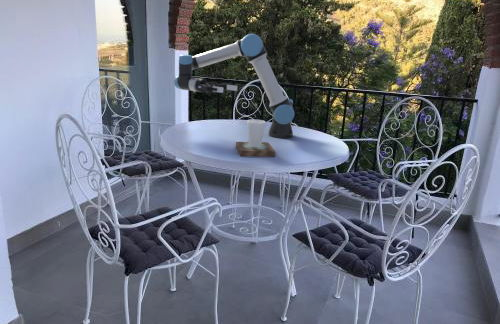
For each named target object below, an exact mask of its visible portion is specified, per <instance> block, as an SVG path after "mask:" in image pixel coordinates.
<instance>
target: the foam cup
mask: <svg viewBox="0 0 500 324" xmlns="http://www.w3.org/2000/svg"><path fill="white" fill-rule="evenodd" d="M246 126H247V140H248V141H247V142H249V146H251V147H261V143H262V142H263V137H264V133H265V128H266V121H265V120H263V119H247V121H246Z"/></svg>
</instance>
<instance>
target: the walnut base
mask: <svg viewBox="0 0 500 324" xmlns="http://www.w3.org/2000/svg"><path fill="white" fill-rule="evenodd" d="M235 149H236V151H237V153H238V156H239V157H248V156H249V158H250V157H253V158H254V157H255V158H256V157H258V158H260V157H261V158H262V157H263V158H264V157H265V158H268V157H269V158H276V150H275V149H274V147H273V146H272V145H271V143H270V142H268V141H267V142H266V141H262V143H261V147H251V146H249V141H235Z"/></svg>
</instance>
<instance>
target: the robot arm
mask: <svg viewBox="0 0 500 324" xmlns="http://www.w3.org/2000/svg"><path fill="white" fill-rule="evenodd" d="M267 55H268V52H267V49H266V47H265V45H264V43H263V41H262V39H261V37H260V36H259V34H258V35H257V34H255V33H248V34H246V35H245V36H243V38H241V39H237V40H236V42H234V43H231V44H227V45H224V46H222V47H218V48H214V49H212V50H208V51H205V52H203V53H199V54H196V55H193V56H192V55H191V54H179V56H178V75H177V76H176V77H175V79H174V81H173V82H174V87H175V88H176V89H179V90H182V91H189V92H190V91H192V92H193V93H196V92H198V93H206V92H209V93H210V94H211V93H221V94H223V93H224V90H227V91H234V92H238V85H233V84H229V82H228V83H226V84H225V83H215V82H208V81H207V79H206V78H202V77H201V78H199V77H193V71H194V70H197V69H200V68H203V67H206V66H210V65H213V64H216V63H219V62H223V61H225V60H229V59H232V58H236V57H238V56H240V57H245V58H246V61H247V63H248V64H252V67H253V68H254V71H255V72H256V73H255V74H256V76H257V77H258V79H259V81H260V83H261V86H262V87H263V90H264V92H265V94H266V97H267V98H268V101H269V105H268V107H269V108H270V111H271V113H272V118H271V119H272V121H271V124H270V127H269V130H268V136H270V137H272V138H277V139H288V138H289V139H290V138H292V137H293V136H294V133H293V132H294V131H293V127H292V121H293V120H294V117H295V110H294V107H293V105H294V101H293V99H291V98H288V96H286V95H284V93H283V91H282V89H281V87H280V85H279V83H278V79H277V78H276V75H275V74H274V71H273V69H272V67H271V64H270V62H269V60H268V59H267Z"/></svg>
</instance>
